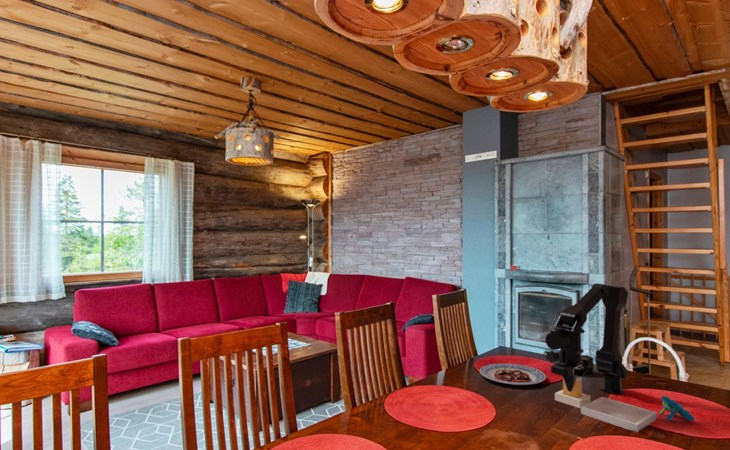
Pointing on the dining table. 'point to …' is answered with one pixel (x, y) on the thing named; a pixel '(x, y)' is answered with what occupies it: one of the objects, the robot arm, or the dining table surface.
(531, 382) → the ceramic plate
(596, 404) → the parts tray
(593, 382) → the dining table surface
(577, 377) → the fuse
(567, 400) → the white shallow boxy piece
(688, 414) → the blue toy water gun
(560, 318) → the robot arm
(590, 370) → the digital camera
